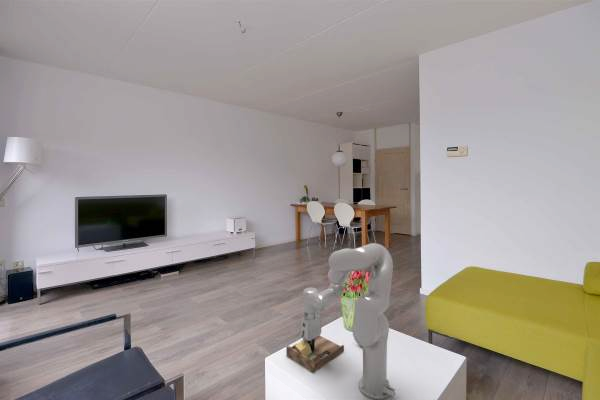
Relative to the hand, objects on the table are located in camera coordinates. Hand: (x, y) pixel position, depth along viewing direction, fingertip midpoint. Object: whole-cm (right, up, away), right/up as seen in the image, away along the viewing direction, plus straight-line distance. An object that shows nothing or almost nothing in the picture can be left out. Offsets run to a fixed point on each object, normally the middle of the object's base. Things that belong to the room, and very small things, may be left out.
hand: (311, 350), depth 138 cm
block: (-3, -1, -2) cm, 4 cm away
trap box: (+2, -3, +2) cm, 4 cm away
